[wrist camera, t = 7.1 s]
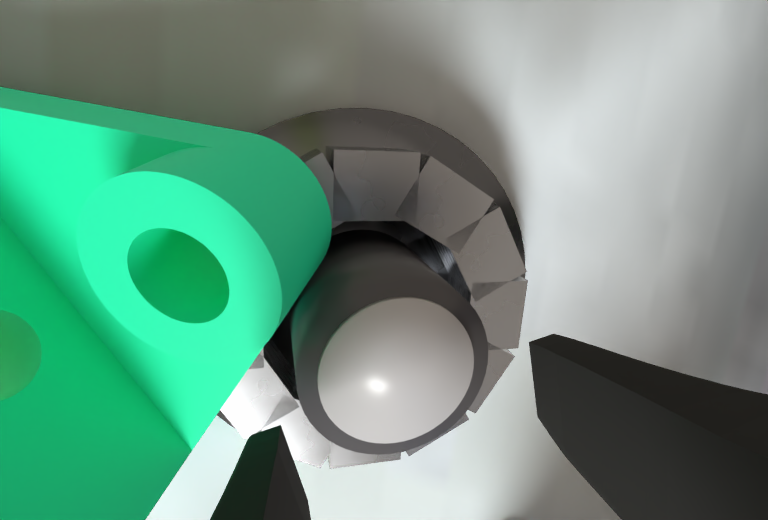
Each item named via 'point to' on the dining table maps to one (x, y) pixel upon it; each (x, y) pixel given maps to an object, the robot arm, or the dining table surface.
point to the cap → (383, 347)
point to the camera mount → (133, 293)
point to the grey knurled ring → (412, 227)
